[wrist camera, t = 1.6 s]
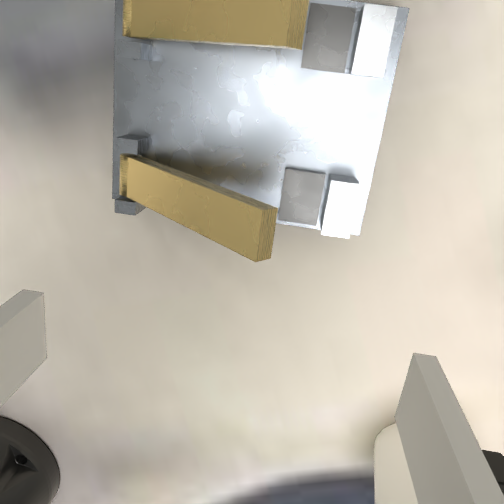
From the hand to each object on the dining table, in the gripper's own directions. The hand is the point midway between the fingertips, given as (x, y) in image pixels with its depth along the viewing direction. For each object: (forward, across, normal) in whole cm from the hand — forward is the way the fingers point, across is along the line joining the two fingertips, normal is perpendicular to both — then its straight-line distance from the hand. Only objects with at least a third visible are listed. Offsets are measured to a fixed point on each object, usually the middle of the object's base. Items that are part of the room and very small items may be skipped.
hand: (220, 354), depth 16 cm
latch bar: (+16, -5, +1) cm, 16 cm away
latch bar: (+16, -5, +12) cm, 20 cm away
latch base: (+25, -2, +7) cm, 26 cm away
